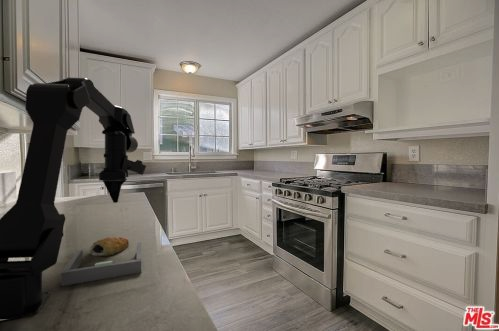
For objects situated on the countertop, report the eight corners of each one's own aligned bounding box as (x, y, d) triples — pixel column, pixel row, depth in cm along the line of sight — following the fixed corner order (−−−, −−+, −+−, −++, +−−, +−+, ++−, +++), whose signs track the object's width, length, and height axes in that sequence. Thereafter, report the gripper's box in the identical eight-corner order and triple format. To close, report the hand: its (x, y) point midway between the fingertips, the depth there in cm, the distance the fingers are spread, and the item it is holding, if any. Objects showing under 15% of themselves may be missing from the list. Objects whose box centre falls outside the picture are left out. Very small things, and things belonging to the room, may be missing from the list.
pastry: (116, 244, 69) (116, 231, 69) (135, 246, 68) (135, 233, 67) (86, 255, 60) (86, 241, 60) (107, 259, 59) (107, 243, 58)
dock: (141, 272, 51) (141, 257, 51) (60, 286, 45) (60, 269, 45) (141, 251, 63) (141, 240, 63) (77, 260, 57) (77, 247, 57)
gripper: (145, 150, 66) (145, 205, 66) (144, 153, 83) (144, 197, 83) (98, 148, 62) (98, 208, 62) (107, 152, 79) (107, 198, 79)
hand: (115, 202), depth 71 cm, fingers closed
